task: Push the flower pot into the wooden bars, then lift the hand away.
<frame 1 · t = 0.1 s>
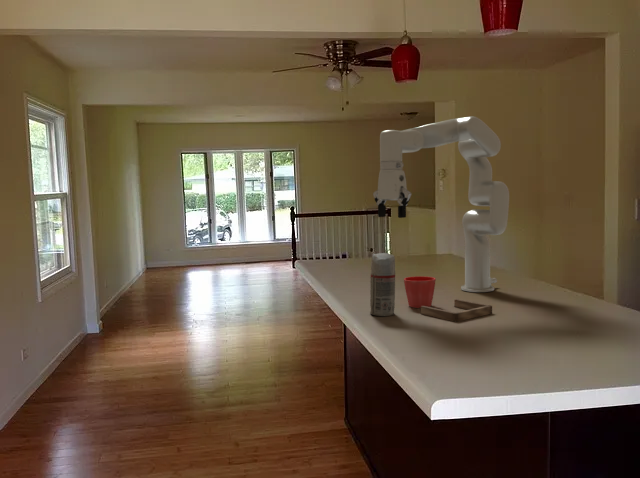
hand: (391, 217, 198), 31 cm above the table, tool pointing down, fingers open, 9 cm apart
wooden bars: (455, 313, 187), on the table
flower pot: (419, 306, 200), on the table
spray can: (383, 314, 189), on the table
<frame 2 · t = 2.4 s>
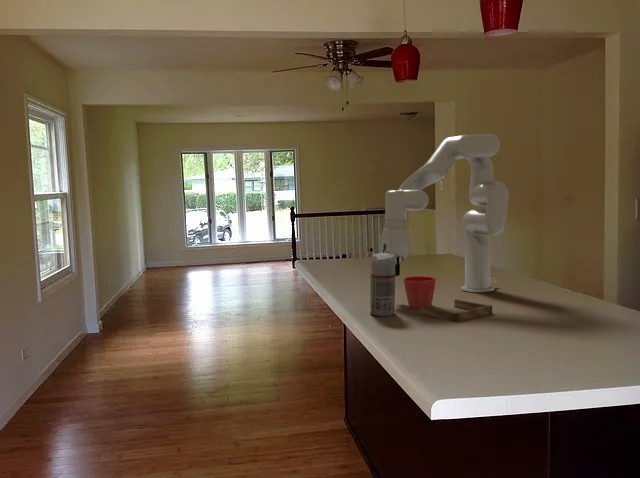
hand: (395, 275, 208), 9 cm above the table, tool pointing down, fingers closed
nothing on the table moved.
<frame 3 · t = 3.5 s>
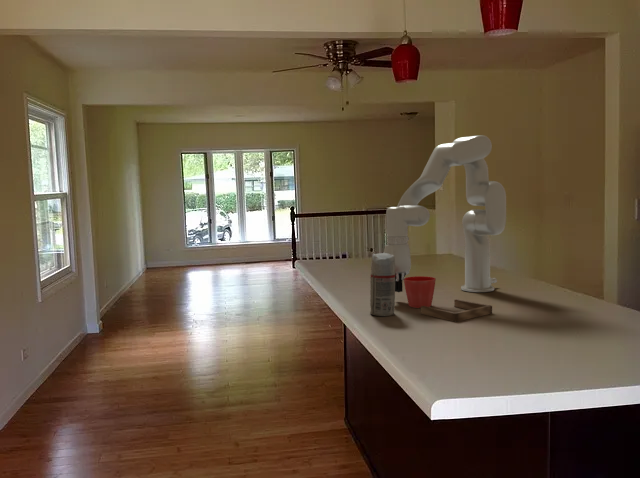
hand: (397, 291, 209), 4 cm above the table, tool pointing down, fingers closed
nothing on the table moved.
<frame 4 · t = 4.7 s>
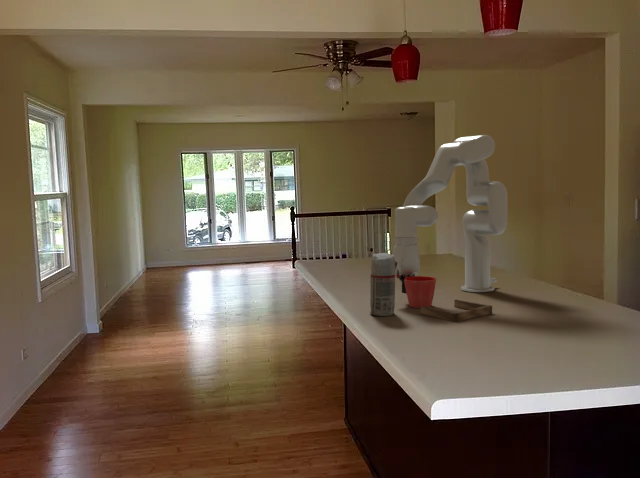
hand: (406, 292, 205), 4 cm above the table, tool pointing down, fingers closed
flower pot: (420, 306, 200), on the table, touching gripper
everything else where it was.
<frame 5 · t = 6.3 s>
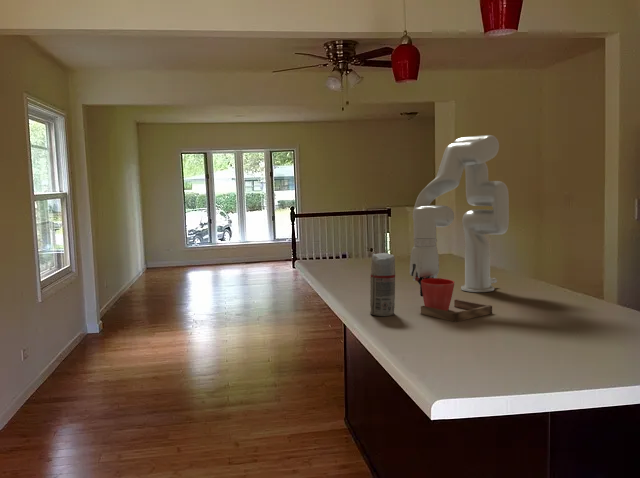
hand: (425, 296, 197), 4 cm above the table, tool pointing down, fingers closed
flower pot: (436, 310, 193), on the table, touching gripper
everything else where it was.
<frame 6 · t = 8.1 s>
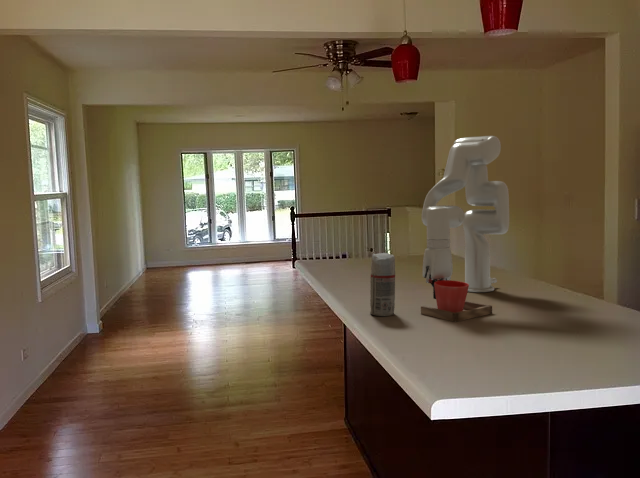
hand: (438, 298, 192), 4 cm above the table, tool pointing down, fingers closed
flower pot: (449, 313, 188), on the table, touching gripper
everything else where it was.
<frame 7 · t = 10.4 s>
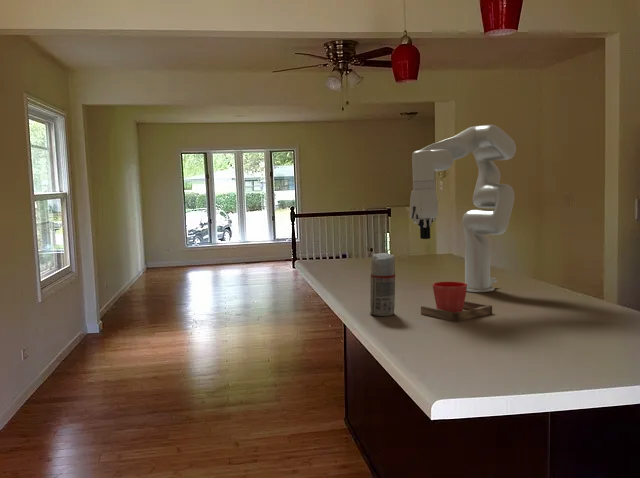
hand: (425, 238, 202), 23 cm above the table, tool pointing down, fingers closed
flower pot: (449, 313, 188), on the table
everything else where it was.
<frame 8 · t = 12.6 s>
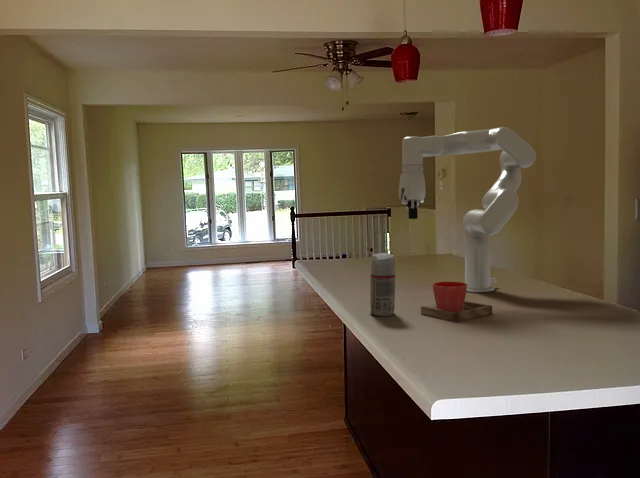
hand: (413, 218, 218), 29 cm above the table, tool pointing down, fingers closed
nothing on the table moved.
at the end: flower pot inside the target area (2.9 cm from its centre), on the table; flower pot tilted 0°; spray can moved 0.2 cm from its start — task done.
